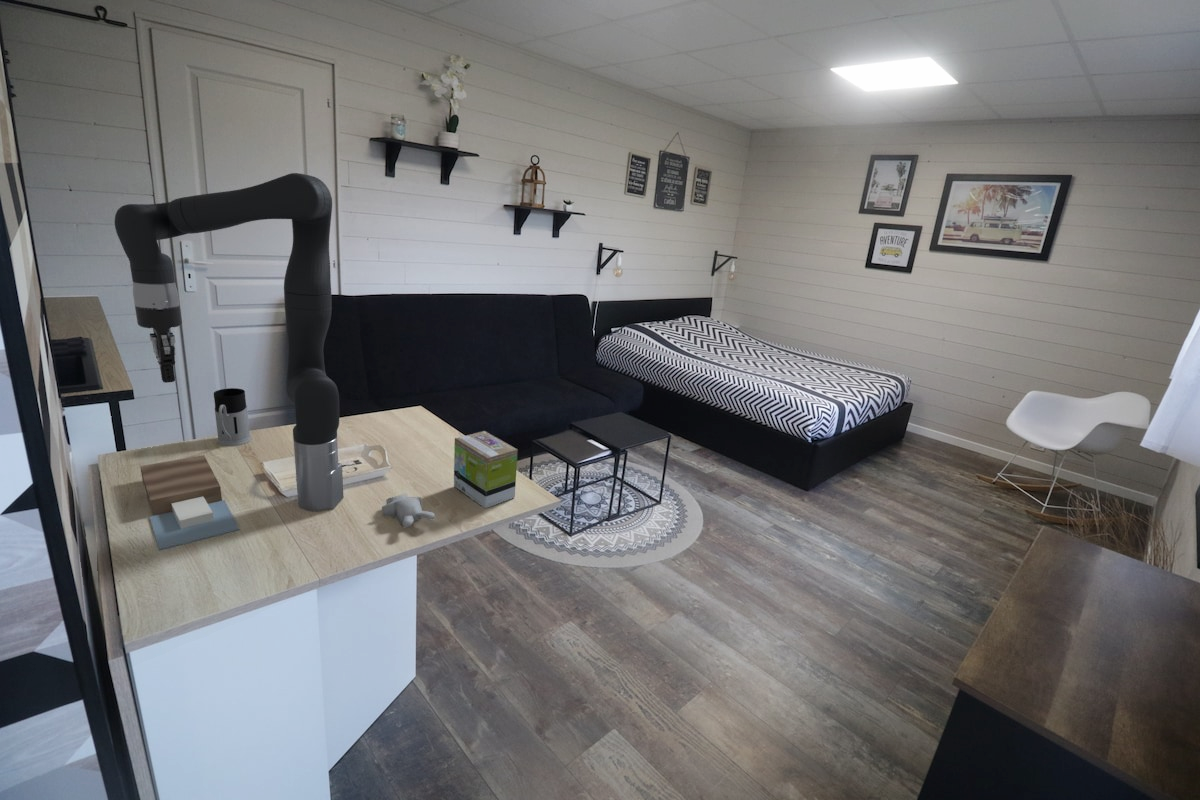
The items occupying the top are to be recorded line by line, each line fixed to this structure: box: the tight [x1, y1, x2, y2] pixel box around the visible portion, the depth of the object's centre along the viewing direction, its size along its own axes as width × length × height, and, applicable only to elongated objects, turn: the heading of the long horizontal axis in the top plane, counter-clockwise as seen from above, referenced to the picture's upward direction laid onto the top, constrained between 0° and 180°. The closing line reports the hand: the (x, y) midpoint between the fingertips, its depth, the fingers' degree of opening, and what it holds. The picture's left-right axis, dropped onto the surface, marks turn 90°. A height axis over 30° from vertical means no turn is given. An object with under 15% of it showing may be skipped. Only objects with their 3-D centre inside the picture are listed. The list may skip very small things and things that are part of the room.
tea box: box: [453, 430, 519, 509], centre depth 147 cm, size 15×10×15 cm
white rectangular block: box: [171, 496, 214, 529], centre depth 124 cm, size 9×6×2 cm, turn 45°
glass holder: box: [213, 387, 253, 447], centre depth 158 cm, size 9×14×15 cm, turn 18°
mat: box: [149, 499, 240, 551], centre depth 122 cm, size 15×14×1 cm
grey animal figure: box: [381, 493, 437, 528], centre depth 132 cm, size 10×5×15 cm
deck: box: [140, 455, 223, 516], centre depth 134 cm, size 20×13×4 cm, turn 43°
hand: (168, 381), depth 123 cm, fingers closed
